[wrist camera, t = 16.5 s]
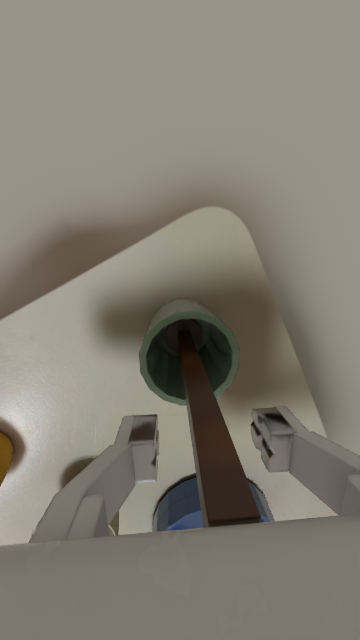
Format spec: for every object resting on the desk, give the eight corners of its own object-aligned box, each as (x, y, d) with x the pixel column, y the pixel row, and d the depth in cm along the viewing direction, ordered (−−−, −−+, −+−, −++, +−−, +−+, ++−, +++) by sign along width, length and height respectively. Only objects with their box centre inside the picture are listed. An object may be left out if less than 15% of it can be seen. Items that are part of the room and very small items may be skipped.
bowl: (269, 466, 31) (288, 501, 26) (262, 552, 35) (277, 596, 30) (150, 475, 30) (146, 513, 25) (157, 562, 34) (155, 609, 29)
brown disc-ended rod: (199, 314, 25) (327, 464, 5) (199, 346, 25) (306, 588, 6) (165, 315, 24) (143, 478, 4) (166, 348, 25) (154, 605, 5)
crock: (213, 297, 25) (240, 309, 15) (212, 357, 27) (237, 402, 17) (149, 299, 24) (135, 313, 15) (153, 359, 26) (143, 408, 16)
